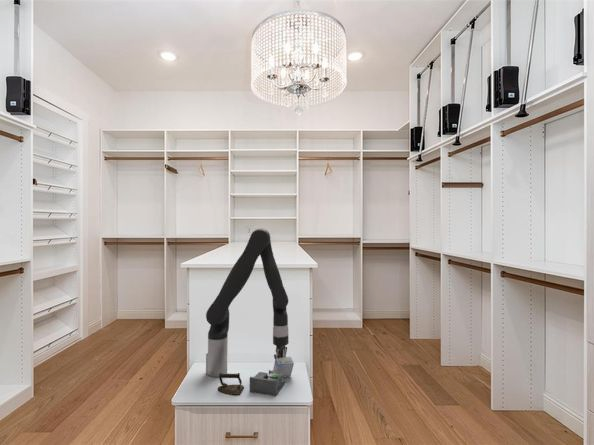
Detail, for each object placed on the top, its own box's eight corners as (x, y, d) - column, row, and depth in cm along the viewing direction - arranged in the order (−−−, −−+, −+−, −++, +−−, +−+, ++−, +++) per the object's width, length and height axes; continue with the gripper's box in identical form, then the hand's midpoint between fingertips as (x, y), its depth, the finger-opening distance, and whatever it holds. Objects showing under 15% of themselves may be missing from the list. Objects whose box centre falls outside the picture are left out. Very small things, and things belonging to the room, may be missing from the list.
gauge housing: (249, 391, 142) (249, 377, 142) (260, 381, 153) (260, 367, 153) (275, 396, 139) (275, 381, 139) (284, 384, 149) (284, 371, 149)
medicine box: (287, 369, 161) (290, 355, 158) (290, 376, 157) (294, 363, 154) (272, 372, 158) (275, 358, 155) (275, 379, 154) (278, 365, 151)
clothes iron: (241, 397, 139) (235, 374, 138) (216, 401, 140) (209, 379, 140) (245, 387, 146) (240, 366, 145) (221, 392, 147) (216, 370, 147)
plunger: (261, 386, 145) (261, 375, 145) (269, 377, 153) (269, 367, 153) (277, 388, 143) (277, 377, 143) (284, 379, 151) (284, 369, 151)
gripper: (278, 329, 169) (278, 364, 168) (268, 337, 156) (268, 374, 156) (292, 330, 167) (292, 365, 166) (283, 338, 154) (283, 376, 154)
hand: (280, 370), depth 161 cm, fingers closed
